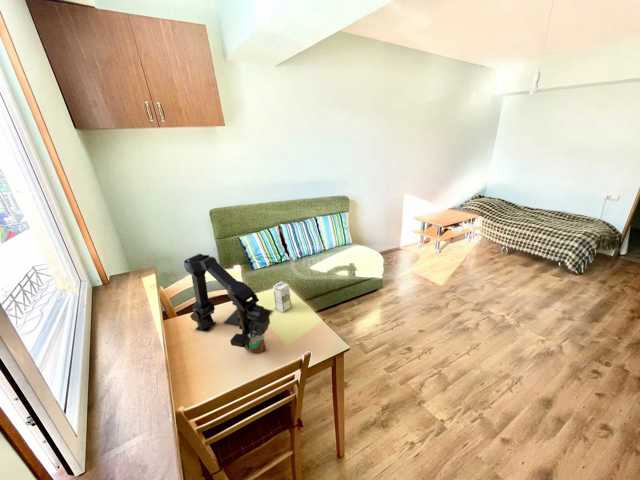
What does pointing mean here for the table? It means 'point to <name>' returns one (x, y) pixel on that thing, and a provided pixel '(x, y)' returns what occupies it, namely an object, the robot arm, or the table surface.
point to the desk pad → (235, 319)
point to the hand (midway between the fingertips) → (253, 343)
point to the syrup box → (282, 296)
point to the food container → (256, 342)
